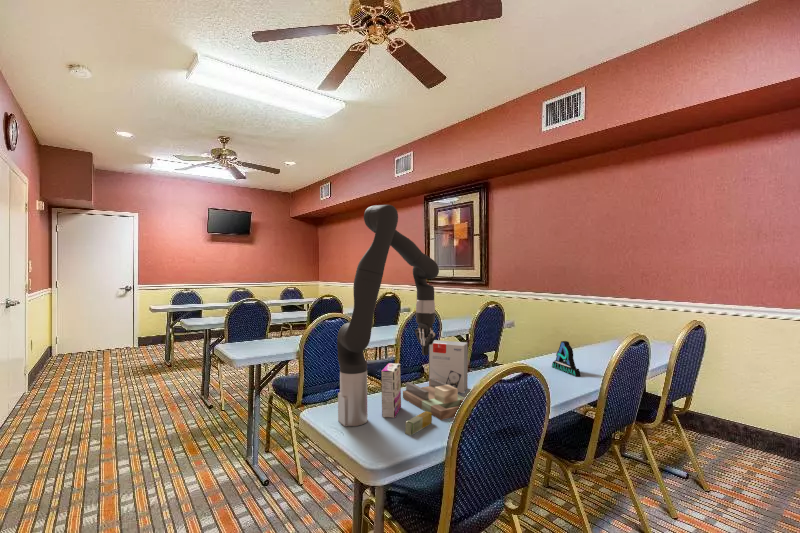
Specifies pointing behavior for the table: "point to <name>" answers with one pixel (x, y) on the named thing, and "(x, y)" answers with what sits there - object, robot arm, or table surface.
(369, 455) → the table surface
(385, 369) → the candy bar box
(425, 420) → the medication box
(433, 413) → the corridor deck
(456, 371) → the hard drive box
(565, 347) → the decorative sign
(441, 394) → the ash block
